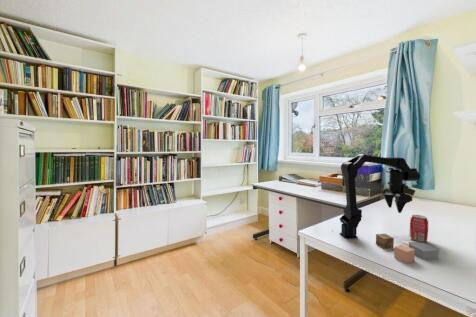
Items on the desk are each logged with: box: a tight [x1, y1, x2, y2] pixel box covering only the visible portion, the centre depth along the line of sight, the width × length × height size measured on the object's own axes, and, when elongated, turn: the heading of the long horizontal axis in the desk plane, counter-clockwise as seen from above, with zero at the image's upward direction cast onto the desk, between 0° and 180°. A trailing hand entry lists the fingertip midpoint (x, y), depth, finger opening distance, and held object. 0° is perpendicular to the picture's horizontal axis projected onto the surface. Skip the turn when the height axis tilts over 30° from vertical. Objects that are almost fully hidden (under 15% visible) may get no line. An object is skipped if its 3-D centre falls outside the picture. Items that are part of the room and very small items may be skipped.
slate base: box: [408, 242, 440, 261], centre depth 95 cm, size 7×7×4 cm
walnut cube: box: [375, 233, 395, 250], centre depth 104 cm, size 5×5×5 cm
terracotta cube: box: [393, 244, 416, 264], centre depth 92 cm, size 5×5×5 cm
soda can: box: [409, 214, 429, 243], centre depth 109 cm, size 7×7×12 cm
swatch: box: [403, 240, 420, 246], centre depth 104 cm, size 7×7×1 cm
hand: (394, 210), depth 115 cm, fingers open, 9 cm apart
